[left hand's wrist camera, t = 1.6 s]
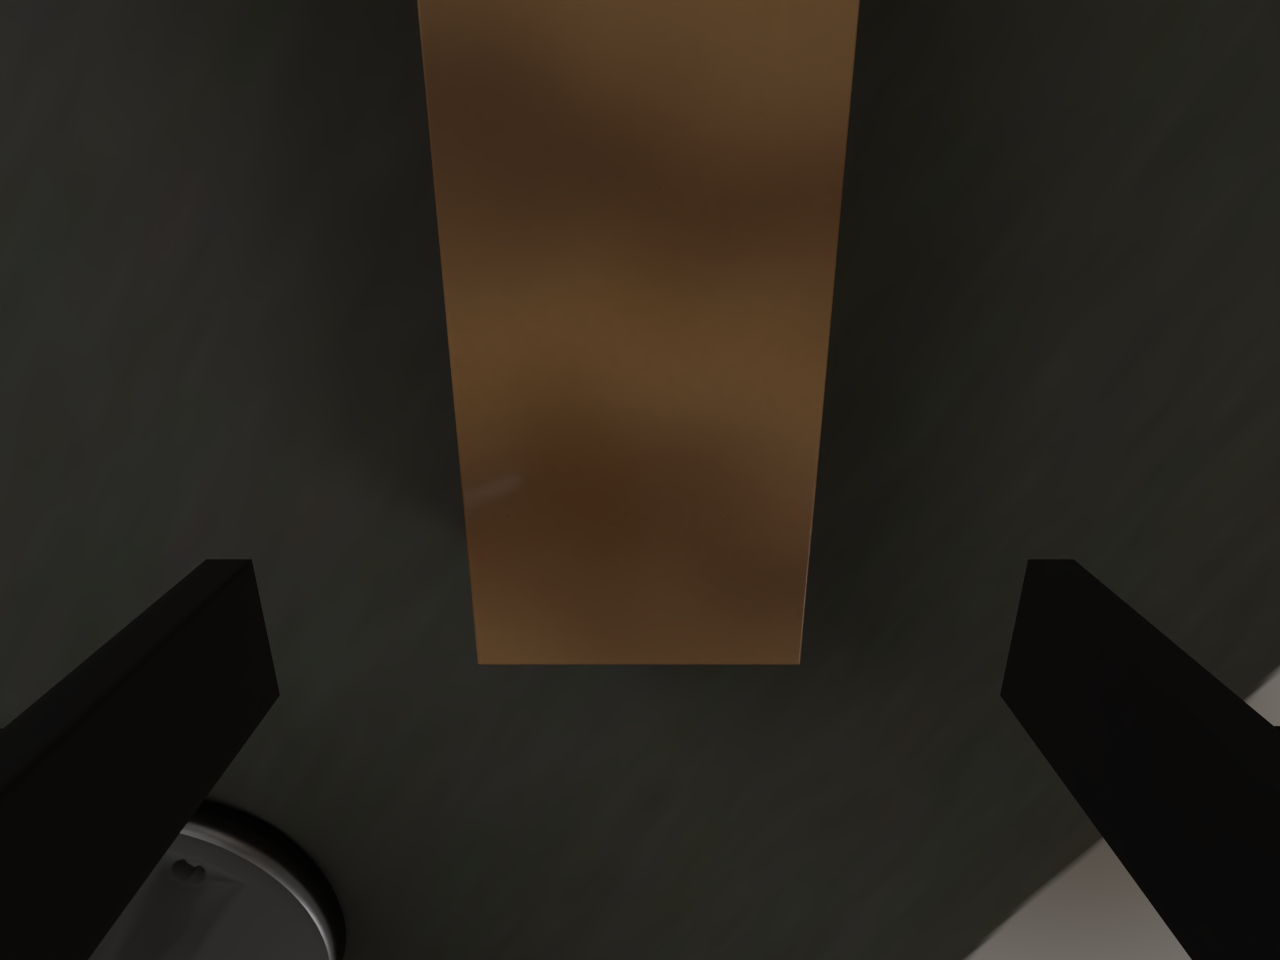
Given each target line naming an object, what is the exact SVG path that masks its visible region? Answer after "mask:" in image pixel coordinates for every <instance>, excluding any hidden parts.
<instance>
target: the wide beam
mask: <svg viewBox="0 0 1280 960" xmlns="http://www.w3.org/2000/svg"><path fill="white" fill-rule="evenodd" d="M859 4H860V0H417V8H418V19H419V30H420V41H421V52H422V63H423V74H424V84H425V95H426V106H427V117H428V128H429V139H430V149H431V160H432V171H433V182H434V193H435V204H436V215H437V225H438V236H439V247H440V258H441V269H442V280H443V291H444V301H445V312H446V323H447V334H448V345H449V356H450V367H451V377H452V388H453V399H454V410H455V421H456V432H457V442H458V453H459V464H460V475H461V486H462V497H463V508H464V518H465V529H466V540H467V551H468V562H469V573H470V584H471V594H472V605H473V616H474V627H475V638H476V649H477V659H478V664H480V665H798V664H800V660H801V648H802V637H803V626H804V615H805V604H806V593H807V582H808V571H809V559H810V548H811V537H812V526H813V515H814V504H815V493H816V482H817V471H818V459H819V448H820V437H821V426H822V415H823V404H824V393H825V382H826V371H827V359H828V348H829V337H830V326H831V315H832V304H833V293H834V282H835V271H836V259H837V248H838V237H839V226H840V215H841V204H842V193H843V182H844V171H845V159H846V148H847V137H848V126H849V115H850V104H851V93H852V82H853V71H854V59H855V48H856V37H857V26H858V15H859Z"/></svg>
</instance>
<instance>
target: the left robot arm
mask: <svg viewBox="0 0 1280 960" xmlns="http://www.w3.org/2000/svg"><path fill="white" fill-rule="evenodd" d="M279 696H280V694H279V689H278V684H277V680H276V675H275V670H274V665H273V660H272V655H271V651H270V646H269V641H268V636H267V631H266V626H265V622H264V617H263V612H262V607H261V602H260V597H259V593H258V588H257V583H256V578H255V573H254V568H253V564H252V560H205V561H204V562H203V563H202V564H200V565H199V566H198V567H197V568H196V569H194V570H193V571H192V572H191V573H190V574H188V575H187V576H186V577H185V578H184V579H182V580H181V581H180V582H179V583H178V584H176V585H175V586H174V587H173V588H172V589H170V590H169V591H168V592H167V593H166V594H164V595H163V596H162V597H161V598H160V599H158V600H157V601H156V602H155V603H154V604H152V605H151V606H150V607H149V608H148V609H146V610H145V611H144V612H143V613H142V614H140V615H139V616H138V617H137V618H136V619H134V620H133V621H132V622H131V623H130V624H128V625H127V626H126V627H125V628H124V629H122V630H121V631H120V632H119V633H118V634H116V635H115V636H114V637H113V638H112V639H110V640H109V641H108V642H107V643H106V644H104V645H103V646H102V647H101V648H100V649H98V650H97V651H96V652H95V653H94V654H92V655H91V656H90V657H89V658H88V659H86V660H85V661H84V662H83V663H82V664H80V665H79V666H78V667H77V668H76V669H74V670H73V671H72V672H71V673H70V674H68V675H67V676H66V677H65V678H64V679H62V680H61V681H60V682H59V683H58V684H56V685H55V686H54V687H53V688H52V689H50V690H49V691H48V692H47V693H46V694H44V695H43V696H42V697H41V698H40V699H38V700H37V701H36V702H35V703H34V704H32V705H31V706H30V707H29V708H28V709H26V710H25V711H24V712H23V713H22V714H20V715H19V716H18V717H17V718H16V719H14V720H13V721H12V722H11V723H10V724H8V725H7V726H6V727H5V728H4V729H0V960H342V959H343V956H344V952H345V944H346V929H345V923H344V917H343V914H342V910H341V907H340V904H339V902H338V900H337V897H336V895H335V893H334V892H333V890H332V888H331V886H330V885H329V883H328V882H327V880H326V879H325V877H324V876H323V875H322V873H321V872H320V871H319V869H318V868H317V867H316V866H315V865H314V864H313V863H312V861H311V860H310V859H309V858H307V857H306V856H305V855H304V854H303V853H302V852H301V851H300V850H299V849H298V848H297V847H295V846H294V845H293V844H292V843H290V842H289V841H288V840H286V839H285V838H284V837H282V836H281V835H279V834H278V833H276V832H275V831H273V830H272V829H270V828H268V827H266V826H265V825H263V824H261V823H259V822H257V821H255V820H253V819H251V818H249V817H247V816H245V815H243V814H240V813H238V812H235V811H233V810H230V809H228V808H225V807H222V806H219V805H216V804H213V803H209V802H205V801H203V800H204V799H205V798H206V796H207V795H208V794H209V792H210V791H211V789H212V788H213V787H214V785H215V784H216V783H217V781H218V780H219V778H220V777H221V776H222V774H223V773H224V771H225V770H226V769H227V767H228V766H229V765H230V763H231V762H232V760H233V759H234V758H235V756H236V755H237V754H238V752H239V751H240V749H241V748H242V747H243V745H244V744H245V743H246V741H247V740H248V738H249V737H250V736H251V734H252V733H253V731H254V730H255V729H256V727H257V726H258V725H259V723H260V722H261V720H262V719H263V718H264V716H265V715H266V714H267V712H268V711H269V709H270V708H271V707H272V705H273V704H274V703H275V701H276V700H277V698H278V697H279ZM1000 696H1001V697H1002V698H1003V700H1004V701H1005V703H1006V704H1007V705H1008V707H1009V708H1010V709H1011V711H1012V712H1013V714H1014V715H1015V716H1016V718H1017V719H1018V720H1019V722H1020V723H1021V725H1022V726H1023V727H1024V729H1025V730H1026V731H1027V733H1028V734H1029V736H1030V737H1031V738H1032V740H1033V741H1034V743H1035V744H1036V745H1037V747H1038V748H1039V749H1040V751H1041V752H1042V754H1043V755H1044V756H1045V758H1046V759H1047V760H1048V762H1049V763H1050V765H1051V766H1052V767H1053V769H1054V770H1055V772H1056V773H1057V774H1058V776H1059V777H1060V778H1061V780H1062V781H1063V783H1064V784H1065V785H1066V787H1067V788H1068V789H1069V791H1070V792H1071V794H1072V795H1073V796H1074V798H1075V799H1076V800H1077V802H1078V803H1079V805H1080V806H1081V807H1082V809H1083V810H1084V812H1085V813H1086V814H1087V816H1088V817H1089V818H1090V820H1091V821H1092V823H1093V824H1094V825H1095V827H1096V828H1097V829H1098V831H1099V832H1100V834H1101V835H1102V836H1103V838H1104V839H1105V840H1106V842H1107V843H1108V845H1109V846H1110V847H1111V849H1112V850H1113V851H1114V853H1115V854H1116V856H1117V857H1118V858H1119V860H1120V861H1121V862H1122V864H1123V865H1124V867H1125V868H1126V869H1127V871H1128V872H1129V874H1130V875H1131V876H1132V878H1133V879H1134V880H1135V882H1136V883H1137V885H1138V886H1139V887H1140V889H1141V890H1142V892H1143V893H1144V894H1145V896H1146V897H1147V898H1148V900H1149V901H1150V902H1151V904H1152V905H1153V907H1154V908H1155V909H1156V911H1157V912H1158V914H1159V915H1160V916H1161V918H1162V919H1163V921H1164V922H1165V923H1166V925H1167V926H1168V927H1169V929H1170V930H1171V932H1172V933H1173V934H1174V936H1175V937H1176V938H1177V940H1178V941H1179V943H1180V944H1181V945H1182V947H1183V948H1184V949H1185V951H1186V952H1187V954H1188V955H1189V956H1190V958H1191V959H1192V960H1280V726H1273V725H1272V724H1270V723H1269V722H1268V721H1267V720H1266V719H1264V718H1263V717H1262V716H1261V715H1260V714H1258V713H1257V712H1256V711H1255V710H1254V709H1252V708H1251V707H1250V706H1249V705H1248V704H1246V703H1245V702H1244V701H1243V700H1242V699H1240V698H1239V697H1238V696H1237V695H1236V694H1234V693H1233V692H1232V691H1231V690H1230V689H1228V688H1227V687H1226V686H1225V685H1224V684H1222V683H1221V682H1220V681H1219V680H1218V679H1216V678H1215V677H1214V676H1213V675H1212V674H1210V673H1209V672H1208V671H1207V670H1206V669H1204V668H1203V667H1202V666H1201V665H1200V664H1198V663H1197V662H1196V661H1195V660H1194V659H1192V658H1191V657H1190V656H1189V655H1188V654H1186V653H1185V652H1184V651H1183V650H1182V649H1180V648H1179V647H1178V646H1177V645H1176V644H1174V643H1173V642H1172V641H1171V640H1170V639H1168V638H1167V637H1166V636H1165V635H1164V634H1162V633H1161V632H1160V631H1159V630H1158V629H1156V628H1155V627H1154V626H1153V625H1152V624H1150V623H1149V622H1148V621H1147V620H1146V619H1144V618H1143V617H1142V616H1141V615H1140V614H1138V613H1137V612H1136V611H1135V610H1134V609H1132V608H1131V607H1130V606H1129V605H1128V604H1126V603H1125V602H1124V601H1123V600H1122V599H1120V598H1119V597H1118V596H1117V595H1116V594H1114V593H1113V592H1112V591H1111V590H1110V589H1108V588H1107V587H1106V586H1105V585H1104V584H1102V583H1101V582H1100V581H1099V580H1098V579H1096V578H1095V577H1094V576H1093V575H1092V574H1090V573H1089V572H1088V571H1087V570H1086V569H1084V568H1083V567H1082V566H1081V565H1080V564H1078V563H1077V562H1076V561H1075V560H1028V564H1027V568H1026V573H1025V578H1024V583H1023V588H1022V593H1021V597H1020V602H1019V607H1018V612H1017V617H1016V622H1015V626H1014V631H1013V636H1012V641H1011V646H1010V651H1009V655H1008V660H1007V665H1006V670H1005V675H1004V680H1003V684H1002V689H1001V694H1000Z"/></svg>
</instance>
